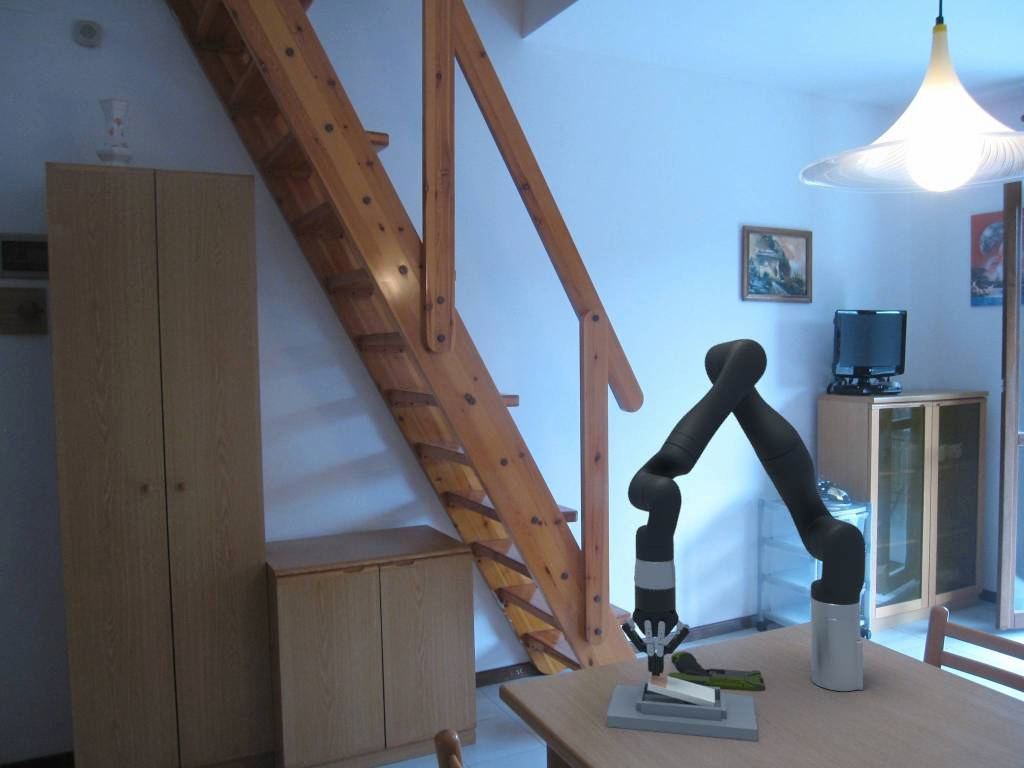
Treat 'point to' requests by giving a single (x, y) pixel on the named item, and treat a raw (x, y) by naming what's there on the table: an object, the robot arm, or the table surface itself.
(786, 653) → the table surface
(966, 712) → the table surface
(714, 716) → the panel
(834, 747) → the table surface
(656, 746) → the table surface
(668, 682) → the rocker
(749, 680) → the gun
